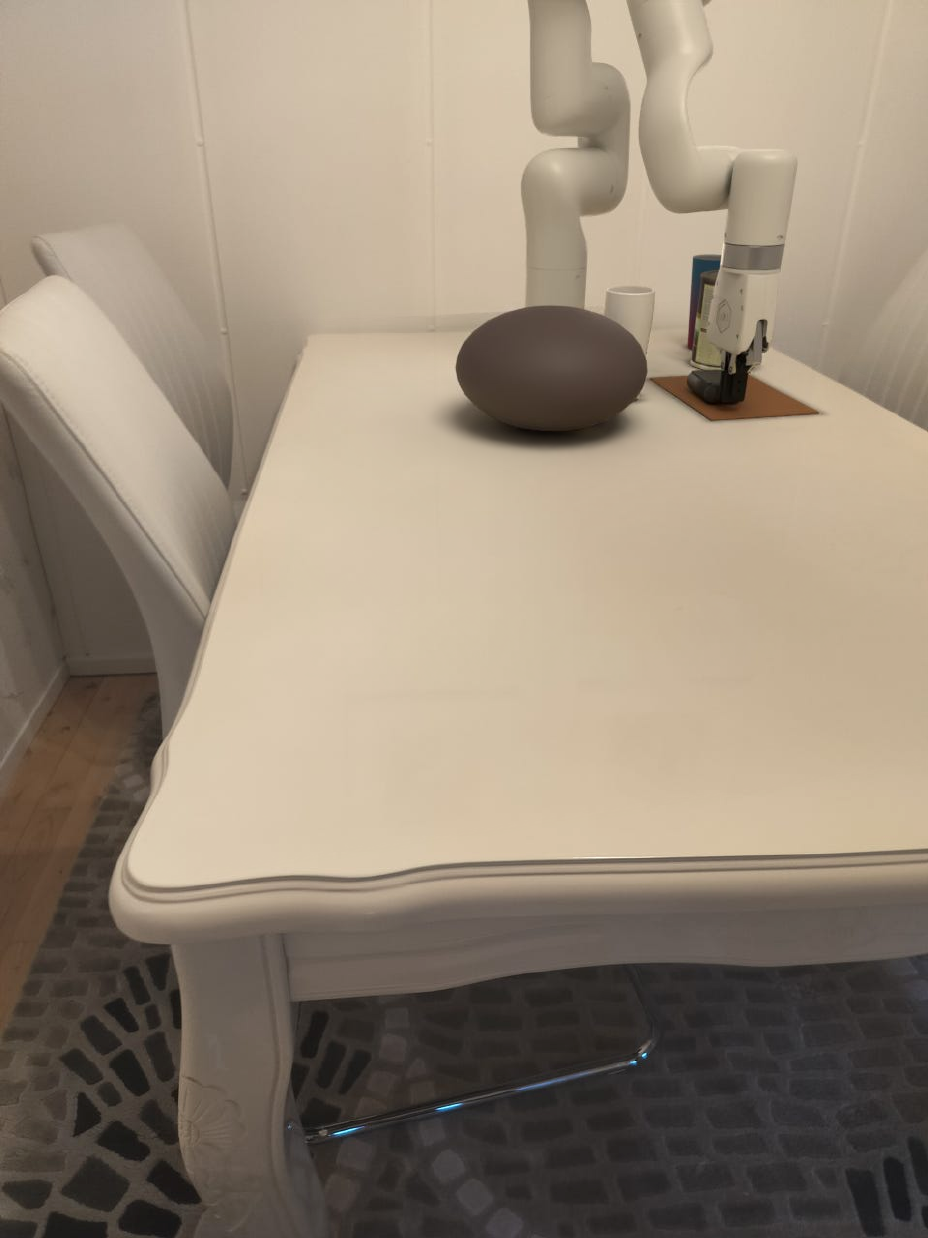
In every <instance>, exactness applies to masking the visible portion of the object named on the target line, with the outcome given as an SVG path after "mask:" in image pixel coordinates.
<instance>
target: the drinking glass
mask: <svg viewBox="0 0 928 1238" xmlns="http://www.w3.org/2000/svg"><path fill="white" fill-rule="evenodd" d="M655 295H656V291H655V289H653V288H651V287H647V286H641V285H640V286H639V285H615V286H610V287H608V288H607V289H606V291H605V298H604V309H603V316H605V317H607V318H609V319H611V320H613V321H615V322H617V323H619V324H620V325H621V326H622V327H624V328H625V329H626V330H627V331H628V332H630V333H631V334H632V335H633V336H634V337H635V339H636V340H637V341H638V342H639V344H640V345H641V347H642V350H643V352H644V355H645V358H646V359H647V353H648V348H649V342H650V337H651V332H652V326H653V320H654V312H655V299H656V298H655ZM640 396H641V392H640V393H639V395H638V396H637V398H636V399H635V400H634V401H637V400H638V399H639V397H640Z"/></svg>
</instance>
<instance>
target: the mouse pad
mask: <svg viewBox="0 0 928 1238" xmlns="http://www.w3.org/2000/svg"><path fill="white" fill-rule="evenodd" d="M687 377H688V375H677V376H675V375H674V376H657V377H649V380H650V381H652V382H653V383H655V384H656V385H658V386H659V387H661V388H662V389H663V390H665V391H667V392H668V393H669V394H671V395H672V396H674V397H675V398H677V399H678V400H680V401H681V402H683V403H684V404H686V405H687V406H688V407H690V408H691V409H693V410H695V411H696V412H697V413H699V414H700V415H702V416H703V417H705V418H706V419H707V420H709V421H724V420H725V421H726V420H740V419H755V418H756V419H757V418H771V417H786V416H787V417H788V416H801V415H802V416H803V415H815V414H819V411H818V410H816V409H814V408H812V407H810V406H809V405H806V404H804V403H803V402H801V401H799V400H797V399H796V398H793V397H791V396H790V395H788V394H786V393H784V392H782V391H780V390H778V389H776V388H774V387H773V386H771V385H769V384H767V383H765V382H763V381H762V380H759V379H757V378H755V377H754V376H751V375H750V374H748V380H747V387H746V394H745V399H744V401H743V402H737V403H734V404H731V403H724V402H722V401H721V402H720V403H718V404H709V403H708V402H706V401H705V400H704V399H702V398H701V397H700V396H699V395H697V394H696V393H695V392H694V391H692V390H691V389H690V388H689V387H688V385H687Z"/></svg>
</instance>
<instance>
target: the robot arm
mask: <svg viewBox="0 0 928 1238" xmlns="http://www.w3.org/2000/svg"><path fill="white" fill-rule="evenodd" d="M711 2H712V0H626V4H627V8H628V13H629V17H630V20H631V24H632V27H633V31H634V35H635V38H636V41H637V45H638V49H639V52H640V57H641V61H642V64H643V68H644V72H645V76H646V85H645V89H644V92H643V95H642V98H641V104H640V109H639V118H638V119H639V120H638V145H639V150H640V153H641V159H642V161H643V165H644V169H645V172H646V175H647V179H648V183H649V186H650V188H651V190H652V192H653V193H652V194H653V195H654V196H655V198H656V200H657V202H658V203H659V204H660V205H661V207H662V208H664V209H665V210H667V211H668V212H671V213H673V214H679V215H681V214H693V213H702V212H714V211H722V210H727V211H726V218H725V225H724V234H723V243H722V248H721V249H722V251H721V255H722V257H721V265H720V270H719V273H718V276H717V279H716V283H715V287H714V291H713V296H712V301H711V307H710V312H709V318H708V325H707V332H706V337H707V340H708V341H709V342H710V343H711V344H713V345H715V346H716V348H717V349H718V350H719V352H720V353H721V365H720V367H721V370H724V371H721V379H720V386H719V393H718V399H719V400H721V401H722V402H724V403H732V402H743V401H744V399H745V394H746V387H747V380H748V375H750V374H751V372H752V369H753V368H752V366H753V365H754V366H760V365H761V364H762V360H763V359H762V358H763V354H765V353H767V352H768V351H769V350H770V348H771V346H772V341H773V336H774V331H775V326H776V325H775V324H776V315H777V307H778V297H779V296H778V293H779V273H781V270H782V264H783V258H784V252H785V247H786V246H785V243H786V238H787V233H788V227H789V220H790V215H791V208H792V204H793V197H794V195H793V194H794V190H795V184H796V178H797V172H798V158H797V157H798V156H797V155H796V153H795V152H793V151H791V150H789V149H782V148H781V149H780V148H753V149H747V148H744V147H743V148H742V147H737V146H733V145H696V142H695V139H694V138H695V137H694V135H693V131H692V127H691V124H690V119H689V113H688V111H689V110H688V95H689V90H690V86H691V83H692V81H693V80H694V77H696V76H698V75H699V74H700V73H701V72H702V71H703V70H704V69H705V68H707V66H708V65H709V63H711V61H712V58H713V55H714V42H713V39H712V35H711V32H710V28H709V24H708V21H707V17H706V13H705V9H704V8H705V7H706V6H708V5H709V4H710V3H711ZM527 7H528V18H529V19H528V20H529V93H530V94H529V95H530V96H529V100H530V115H531V120H532V124H533V125H534V128H535V129H536V130H537V131H538V132H539V133H540V134H542V135H544V136H546V137H551V138H577V147H558V148H550V149H546V150H544V151H541V152H538V153H537V154H536V155H535V156H533V157H532V158H531V159H530V160H529V161H528V162H527V164H526V166H525V167H524V169H523V172H522V174H521V175H522V176H521V181H520V197H521V203H522V210H523V211H522V212H523V217H524V229H525V261H524V262H525V263H524V264H525V265H524V266H525V268H524V269H525V270H524V271H525V272H524V274H525V275H524V297H523V298H524V299H523V300H524V301H523V303H524V304H523V308H525V307H532V306H549V305H555V306H569V307H577V308H582V309H585V303H586V289H587V275H588V274H587V273H588V271H587V270H588V252H589V251H588V250H589V249H588V241H587V238H586V233H585V231H584V227H583V225H582V221H581V219H582V218H590V217H598V216H604V215H608V214H610V213H611V212H613V211H614V210H616V209H617V208H618V207H619V205H620V204H621V203H622V201H623V199H624V197H625V194H626V191H627V186H628V181H629V172H630V171H629V168H630V146H631V145H630V144H631V143H630V141H631V137H630V136H631V115H632V114H631V112H632V111H631V110H632V106H631V105H632V104H631V94H630V90H629V86H628V83H627V81H626V79H625V77H624V75H623V74H622V72H621V71H620V70H618V68H617V67H615V66H613V65H612V64H609V63H605V62H593V59H592V20H591V14H590V10H589V7H588V3H587V0H527ZM748 348H749V349H748Z"/></svg>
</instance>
